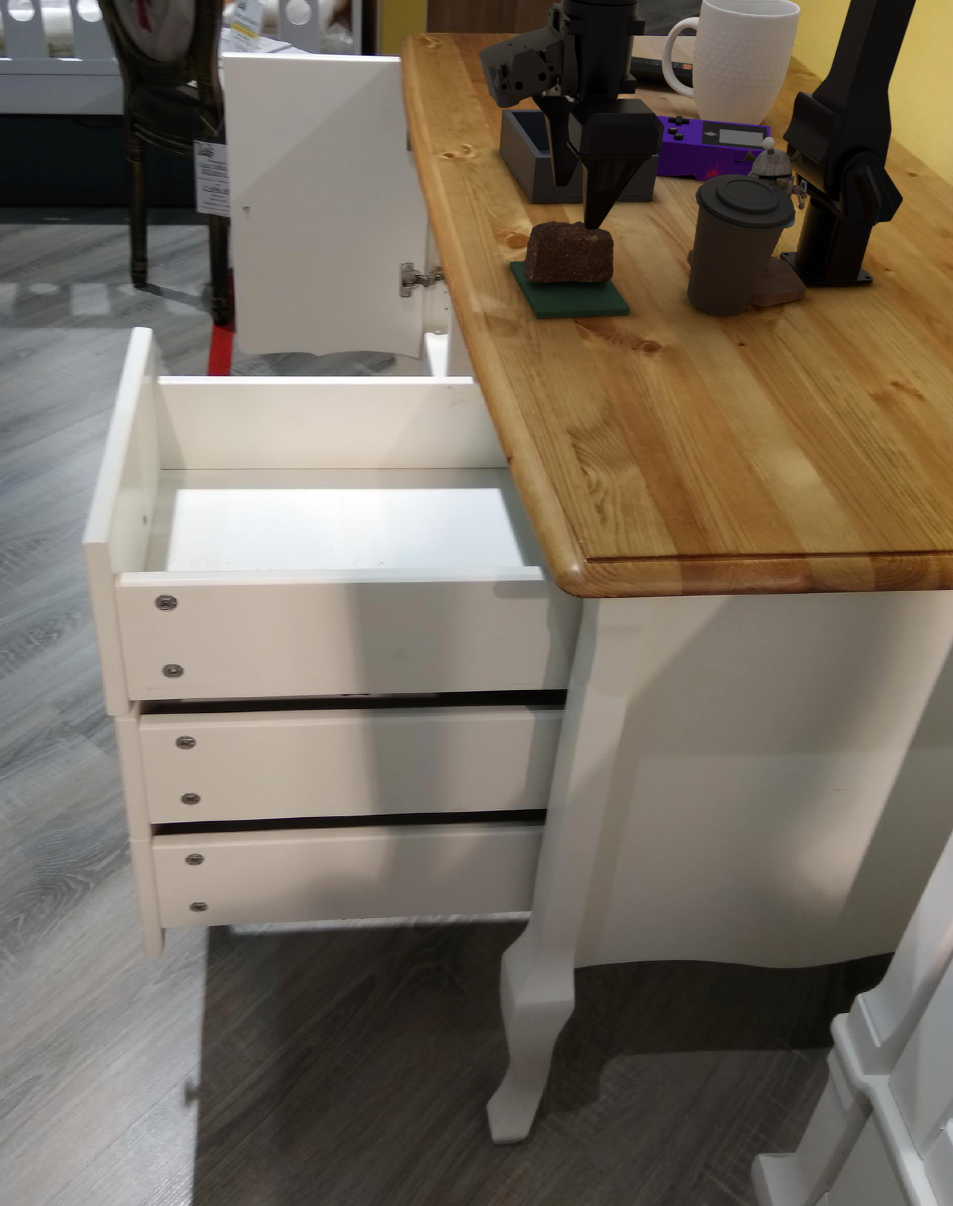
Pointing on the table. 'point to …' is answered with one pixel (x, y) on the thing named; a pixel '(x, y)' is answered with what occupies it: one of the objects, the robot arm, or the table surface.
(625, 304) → the mat
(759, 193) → the coffee cup
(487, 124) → the table surface
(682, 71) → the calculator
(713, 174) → the handheld gaming console
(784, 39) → the mug
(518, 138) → the open box
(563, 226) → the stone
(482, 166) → the table surface
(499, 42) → the robot arm
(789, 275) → the robot figurine
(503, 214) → the table surface
